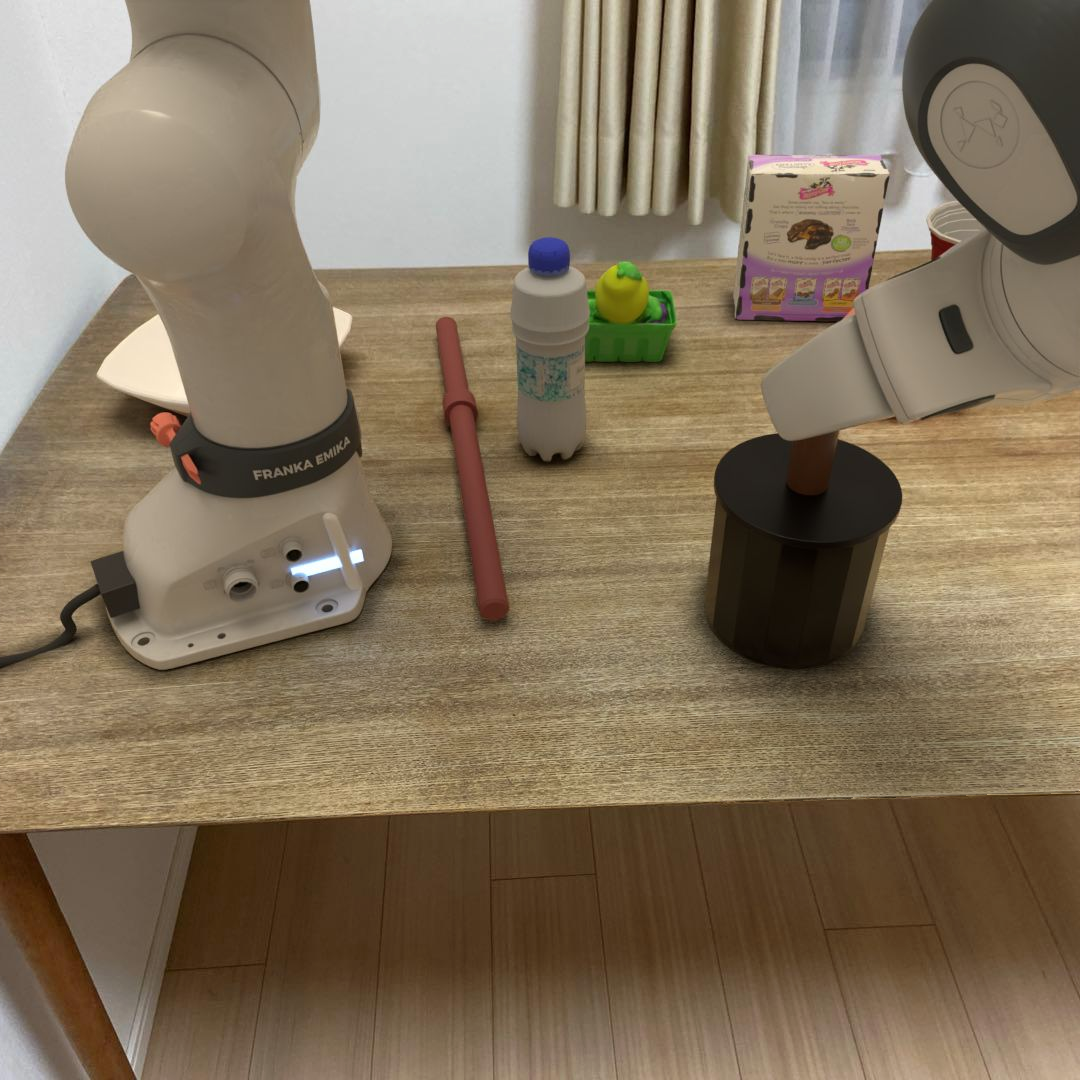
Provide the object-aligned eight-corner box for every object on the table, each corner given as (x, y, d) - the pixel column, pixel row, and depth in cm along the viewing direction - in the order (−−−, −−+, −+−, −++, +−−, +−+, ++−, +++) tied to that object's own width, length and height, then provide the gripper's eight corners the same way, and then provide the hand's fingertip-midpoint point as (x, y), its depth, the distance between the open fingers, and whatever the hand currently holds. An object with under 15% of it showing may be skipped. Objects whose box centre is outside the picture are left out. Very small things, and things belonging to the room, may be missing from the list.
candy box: (855, 299, 115) (883, 152, 105) (862, 324, 111) (893, 173, 100) (731, 296, 116) (747, 150, 106) (734, 320, 112) (750, 171, 101)
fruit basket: (668, 332, 110) (675, 232, 103) (675, 374, 103) (683, 270, 96) (563, 333, 111) (563, 233, 103) (563, 375, 104) (562, 271, 97)
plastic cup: (882, 314, 112) (904, 208, 105) (958, 293, 116) (985, 189, 108) (951, 358, 105) (981, 247, 97) (1031, 334, 108) (1065, 225, 100)
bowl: (82, 428, 98) (64, 381, 95) (207, 325, 114) (196, 281, 110) (280, 467, 92) (268, 418, 89) (383, 353, 108) (377, 308, 105)
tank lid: (798, 581, 63) (821, 460, 57) (676, 481, 71) (685, 366, 65) (939, 514, 68) (973, 395, 62) (809, 427, 76) (829, 315, 70)
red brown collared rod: (432, 339, 110) (429, 313, 108) (461, 336, 110) (459, 310, 108) (474, 629, 76) (471, 598, 74) (516, 624, 76) (514, 593, 74)
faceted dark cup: (775, 693, 70) (799, 568, 63) (673, 596, 78) (684, 475, 71) (896, 629, 75) (931, 505, 68) (788, 544, 83) (809, 425, 75)
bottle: (581, 472, 91) (583, 260, 78) (508, 464, 92) (498, 254, 79) (593, 430, 96) (597, 225, 83) (524, 424, 97) (517, 220, 84)
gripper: (1155, 203, 52) (965, 302, 65) (841, 295, 45) (699, 385, 58) (1199, 318, 52) (1000, 394, 65) (891, 427, 45) (737, 488, 58)
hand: (855, 391), depth 61 cm, fingers open, 8 cm apart
